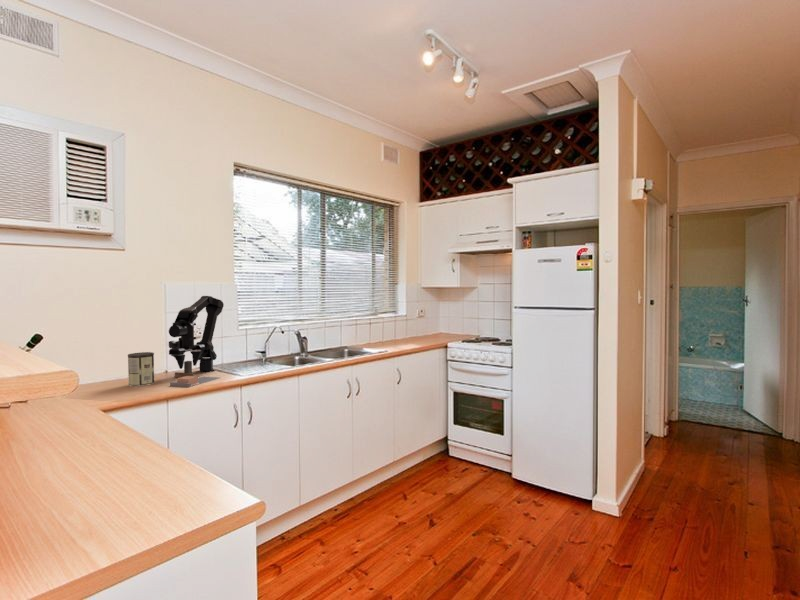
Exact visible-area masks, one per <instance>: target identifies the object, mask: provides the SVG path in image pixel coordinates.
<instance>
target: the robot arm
mask: <svg viewBox="0 0 800 600" xmlns="http://www.w3.org/2000/svg"><path fill="white" fill-rule="evenodd" d="M224 305H225V304H224V302H223V301H222V300H221V299H218V298H215V297H213V296H211V295H202V296H201V297H200V298H199V299H198V300H196V301H195V302H194V303H193V304H191V305H190V306H188V307H185V308H182V309H180V310H179V311H178V312H177V313H178V314H177V315H176V318H175V320H174V322H172V325H171V326H170V327H169V329H168V334H169V335H170V337H171V338H178V337H179V338H178V341H174V340H169V341H168V348H169V350H168V355H170V356H171V357H174V359H175V360H176V362H177V365H178V367H179V369H181V370H182V369H183V368H184V362H185V358H186V354H185V353H187V352H190V354H192V355H191V356H192V366H197V363H198V362H199V370H197V371H198V373H199V372H200V373H209V372H210V371H211V372H214V371H213V370H214V363H213V361H215V360H217V354H216V352H215V350H214V347H215V346H214V345H213V336H214V332H215V328H216V324H217V320H218V319H217V318H218V317H219V315H221V313H222V311H223V309H224ZM204 309H205V311H206V314H207V315H206V320H205V323H204V328H203V333H202V337H201V340H200V341H197V342H196V344H195V340H197V336H195V326H197V324H196V322H194V321H196V319H197V318H198V316H199V315H198V314H199V313H200V312H201V311H202V310H204ZM211 372H210V373H211Z"/></svg>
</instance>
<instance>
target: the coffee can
mask: <svg viewBox="0 0 800 600" xmlns="http://www.w3.org/2000/svg"><path fill="white" fill-rule="evenodd" d="M154 355H155V352H151V351H145V352H144V351H143V352H133V353H128V354H127V362H128V363H127V365H128V366H127V369H128V370H127V372H128V373H127V374H128V376H127V377H128V387H129V386H130V388H134V387H143V386H149V385H153V384H155V358H154V357H155V356H154Z"/></svg>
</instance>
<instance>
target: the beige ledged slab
mask: <svg viewBox="0 0 800 600" xmlns="http://www.w3.org/2000/svg"><path fill="white" fill-rule="evenodd" d="M183 368H184V369H183V372H176V371H175V372H174V378H181V377H185V376H197V377H198V378H200V377H201V374H194V372H193V360H184V364H183Z"/></svg>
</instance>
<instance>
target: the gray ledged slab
mask: <svg viewBox="0 0 800 600" xmlns="http://www.w3.org/2000/svg"><path fill="white" fill-rule="evenodd" d="M218 379H219V380H220V377H217V376H202V377H201V376H200V377H198V383H197V384H193V385H191V383H179V382H176V381H175V382H174V381H171V382H169V385H170V387H179V388H191V387H194V386H198V385H202V384H204V383H208V382H212V381H216V380H218Z"/></svg>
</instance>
